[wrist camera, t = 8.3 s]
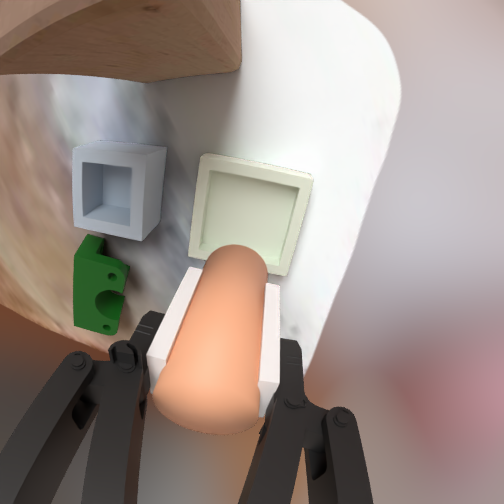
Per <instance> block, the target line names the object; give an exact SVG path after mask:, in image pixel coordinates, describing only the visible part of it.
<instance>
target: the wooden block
mask: <svg viewBox="0 0 504 504" xmlns="http://www.w3.org/2000/svg"><path fill="white" fill-rule="evenodd" d="M241 62H242V55H241V16H240V0H0V75H6V74H69V75H84V76H96V77H105V78H114V79H122V80H129V81H136V82H142V83H150V82H155V81H161V80H167V79H173V78H180V77H188V76H196V75H205V74H216V73H229V72H233V71H235V70H237V69H239V67H240V64H241Z"/></svg>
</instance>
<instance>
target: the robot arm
mask: <svg viewBox="0 0 504 504" xmlns="http://www.w3.org/2000/svg"><path fill="white" fill-rule="evenodd" d="M202 273H203V269H198V268H194V267H189V268H188V270H187V272H186V274H185V276H184V278H183V280H182V282H181V284H180V286H179V288H178V290H177V292H176V294H175V296H174V298H173V300H172V302H171V304H170V306H169V308H168V310H167V312H166V314H162V313H158V312H154V311H149V312H148V313H147V314H145V315H144V316H143V317H142V319H141V321H140V322H139V325H138V326H137V328H136V330H135V331H134V333H133V335H132V337H131V339H130V340H129V341H128V340H121V341H117V342H115V343H113V344H112V345H111V346H110V348H109V349H108V351H109V355H110V361H95V360H92V358H91V357H90V355H88V354H87V353H85V352H82V351H75V352H72V353H70V354H69V355H67V356H66V357H65V359H64V360H63V361H62V363H61V364H60V365H59V367H58V368H57V369H56V371H55V372H54V373H53V375H52V376H51V377H50V379H49V380H48V382H47V383H46V384H45V386H44V387H43V389H42V390H41V391H40V393H39V394H38V396H37V397H36V398H35V400H34V401H33V403H32V404H31V406H30V407H29V409H28V411H27V412H26V413H25V415H24V416H23V418H22V419H21V421H20V423H19V424H18V426H17V427H16V429H15V430H14V432H13V433H12V435H11V437H10V438H9V440H8V442H7V443H6V445H5V446H4V448H3V450H2V452H1V453H0V504H51V502H52V500H53V498H54V496H55V494H56V492H57V489H58V487H59V485H60V483H61V481H62V479H63V477H64V475H65V473H66V471H67V469H68V467H69V465H70V463H71V461H72V459H73V457H74V455H75V454H76V452H77V450H78V448H79V446H80V444H81V442H82V440H83V438H84V437H85V435H86V433H87V431H88V429H89V427H90V425H91V423H92V422H93V420H94V418H95V416H96V415H97V413H98V415H97V418H96V422H95V427H94V431H93V436H92V441H91V446H90V451H89V456H88V462H87V467H86V474H85V479H84V486H83V493H82V501H81V504H137V494H138V481H139V480H138V479H139V468H140V457H141V447H142V439H143V431H144V423H145V415H146V408H147V394H148V391H149V389H150V392H151V393H152V394H153V391H154V388H155V386H156V383H157V380H158V378H159V375H160V373H161V371H162V369H163V368H164V367H165V366H166V364H167V361H168V359H169V356H170V353H171V351H172V348H173V346H174V343H175V341H176V338H177V335H178V333H179V330H180V328H181V325H182V323H183V320H184V318H185V315H186V313H187V310H188V308H189V306H190V303H191V301H192V298H193V296H194V293H195V291H196V288H197V286H198V284H199V281H200V279H201V277H202ZM257 385H258V387H259V390H260V406H259V417H264V415H265V413H266V415H265V423H264V425H263V427H262V428H261V430H260V432H259V434H260V437H259V440H258V443H257V447H256V450H255V453H254V456H253V459H252V463H251V466H250V469H249V472H248V475H247V478H246V481H245V484H244V487H243V490H242V493H241V496H240V499H239V502H238V504H290V502H291V498H292V494H293V489H294V485H295V480H296V476H297V471H298V466H299V461H300V456H301V451H302V447H303V448H304V451H305V462H306V472H307V483H308V496H309V504H373V499H372V493H371V488H370V482H369V477H368V472H367V467H366V462H365V458H364V453H363V448H362V443H361V439H360V434H359V430H358V426H357V422H356V418H355V416H354V414H353V413H352V412H351V411H350V410H348V409H346V408H345V407H334V408H332V409H331V410H326V409H323V408H320V407H318V406H316V405H314V404H313V403H311V402H310V401H309V400H308V398H307V397H306V395H305V393H304V381H303V366H302V351H301V348H300V346H299V344H298V342H297V341H295V340H289V339H283V338H280V285H275V284H270V283H266V285H265V290H264V304H263V319H262V332H261V346H260V359H259V371H258V384H257Z"/></svg>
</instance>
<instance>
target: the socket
mask: <svg viewBox="0 0 504 504" xmlns="http://www.w3.org/2000/svg"><path fill="white" fill-rule="evenodd" d="M166 155H167V147H163V146H154V145H146V144H136V143H126V142H114V141H101V140H100V141H96V142H92V143H89V144H85V145H81V146H78V147H75V148H73V159H72V193H73V216H74V226H75V227H79V228H83V229H88V230H92V231H97V232H101V233H106V234H110V235H115V236H119V237H124V238H128V239H133V240H138V241H143V240H144V239H145V237H146V236H147V235H148V234H149V233H150V232H151V231H152V230H153V229H154V228H155V227H156V226H157V224H158V223H159V222H160V219H161V205H162V193H163V182H164V173H165V163H166Z"/></svg>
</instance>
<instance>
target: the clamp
mask: <svg viewBox="0 0 504 504" xmlns="http://www.w3.org/2000/svg"><path fill="white" fill-rule="evenodd" d="M103 248H104V238H100V237H97V236H93V235H90V234H87V236H86V237H85V239H84V240H83V242H82V244H81V245H80V247H79V248H78V250H77V252H76V253H75V255H74V275H73V314H74V326H77V327H80V328H83V329H87V330H90V331H94V332H97V333H101V334H105V335H115V334H116V333H117V330H118V326H119V320H120V314H121V310H122V306H123V302H124V298H125V296H122V295H118V294H115V293H113V292H112V291H111V290H114V291H117V292H120V293H123V290H124V286H125V283H126V279H127V276H128V273H129V270H130V266H128V265H126V264H124V263H123V262H122V261H120V260H118V259H114V258H111V257H107V256H104V255H103Z"/></svg>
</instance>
